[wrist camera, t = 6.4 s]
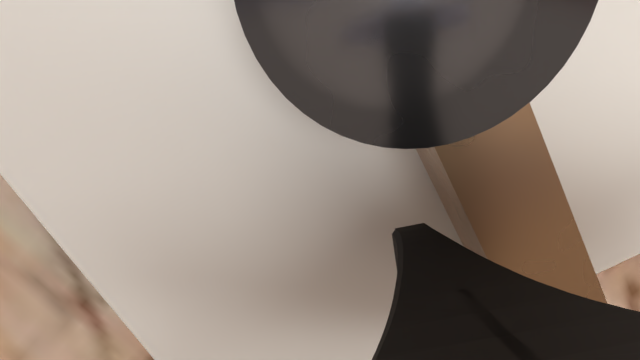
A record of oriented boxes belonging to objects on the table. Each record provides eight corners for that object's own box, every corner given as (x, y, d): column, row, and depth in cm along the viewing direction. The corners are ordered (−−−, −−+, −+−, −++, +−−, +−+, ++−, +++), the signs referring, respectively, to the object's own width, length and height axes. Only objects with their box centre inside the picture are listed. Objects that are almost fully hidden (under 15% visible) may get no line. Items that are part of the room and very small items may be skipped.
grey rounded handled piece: (196, -85, 9) (147, -129, 6) (442, -236, 9) (537, -375, 5) (434, 339, 13) (484, 456, 10) (617, 251, 12) (737, 344, 9)
